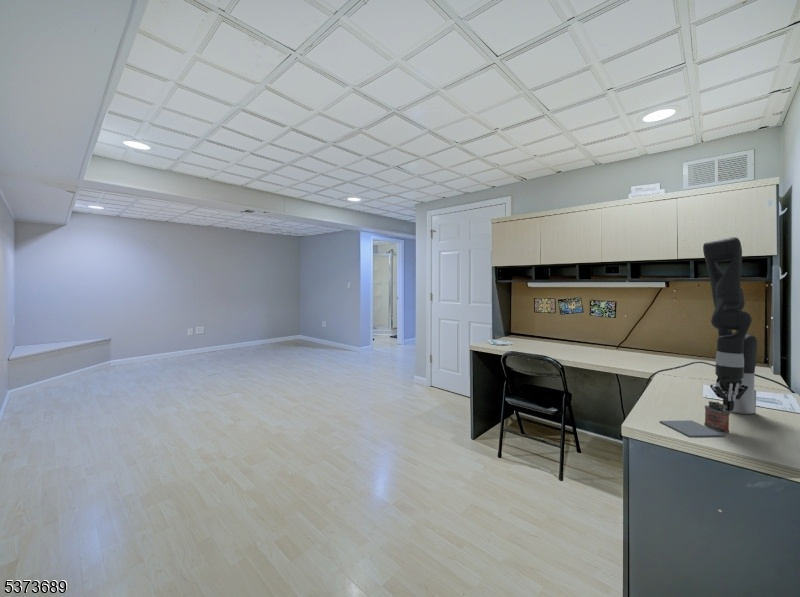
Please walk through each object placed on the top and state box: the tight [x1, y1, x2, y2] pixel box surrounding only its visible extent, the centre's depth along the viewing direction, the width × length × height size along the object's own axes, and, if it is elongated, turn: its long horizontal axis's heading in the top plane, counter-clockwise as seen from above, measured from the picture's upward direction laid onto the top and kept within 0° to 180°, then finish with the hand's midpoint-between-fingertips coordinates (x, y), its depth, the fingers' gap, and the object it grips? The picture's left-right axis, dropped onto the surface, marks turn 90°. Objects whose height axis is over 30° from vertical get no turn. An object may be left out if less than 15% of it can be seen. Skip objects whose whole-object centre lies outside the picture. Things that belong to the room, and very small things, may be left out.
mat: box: [659, 419, 726, 438], centre depth 124 cm, size 13×13×1 cm
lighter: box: [703, 400, 731, 434], centre depth 124 cm, size 8×3×10 cm, turn 5°
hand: (728, 409), depth 124 cm, fingers closed
